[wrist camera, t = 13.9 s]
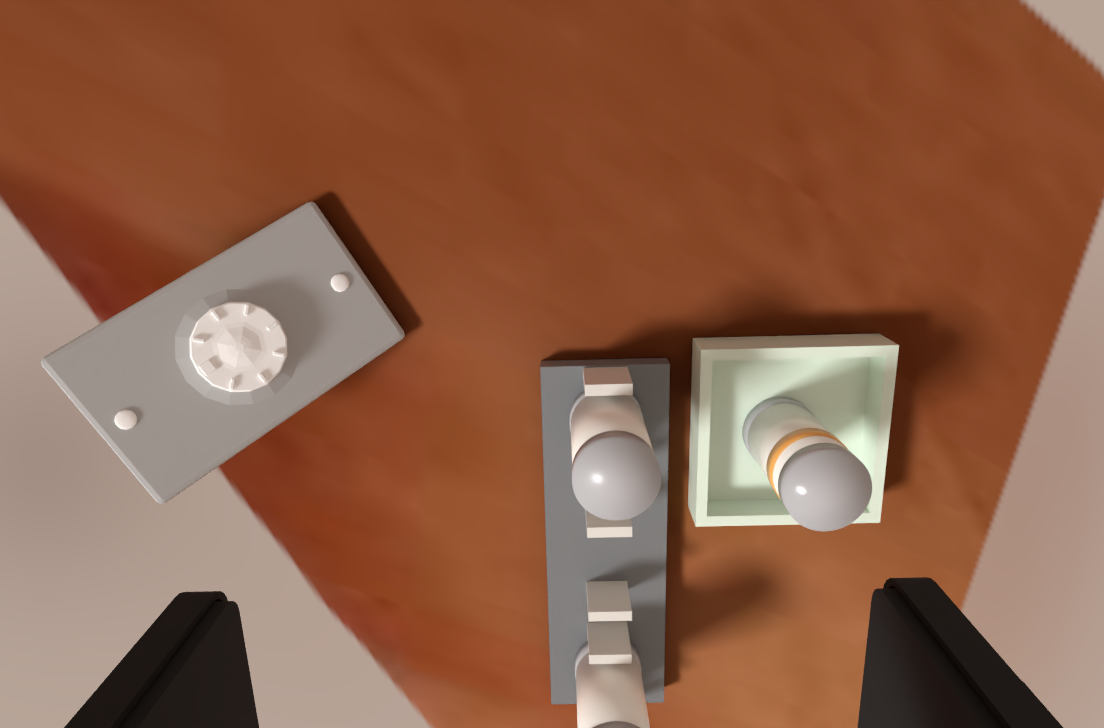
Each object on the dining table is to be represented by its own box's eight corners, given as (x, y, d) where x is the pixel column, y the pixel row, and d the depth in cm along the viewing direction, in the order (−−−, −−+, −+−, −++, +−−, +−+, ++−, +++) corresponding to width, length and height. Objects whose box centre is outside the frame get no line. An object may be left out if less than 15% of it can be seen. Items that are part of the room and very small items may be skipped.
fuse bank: (540, 360, 41) (536, 419, 32) (666, 357, 41) (696, 415, 32) (551, 690, 47) (550, 815, 38) (661, 688, 47) (685, 813, 38)
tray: (692, 338, 41) (701, 349, 38) (878, 333, 40) (899, 345, 38) (687, 505, 43) (695, 526, 41) (861, 501, 43) (879, 522, 41)
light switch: (411, 335, 39) (158, 510, 34) (389, 338, 44) (167, 490, 40) (315, 194, 37) (31, 360, 32) (304, 215, 42) (60, 360, 38)
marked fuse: (744, 396, 41) (788, 450, 33) (817, 396, 41) (877, 451, 33) (739, 463, 42) (780, 530, 34) (810, 463, 42) (866, 531, 34)
